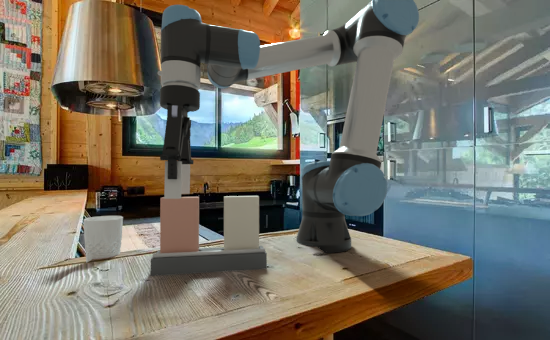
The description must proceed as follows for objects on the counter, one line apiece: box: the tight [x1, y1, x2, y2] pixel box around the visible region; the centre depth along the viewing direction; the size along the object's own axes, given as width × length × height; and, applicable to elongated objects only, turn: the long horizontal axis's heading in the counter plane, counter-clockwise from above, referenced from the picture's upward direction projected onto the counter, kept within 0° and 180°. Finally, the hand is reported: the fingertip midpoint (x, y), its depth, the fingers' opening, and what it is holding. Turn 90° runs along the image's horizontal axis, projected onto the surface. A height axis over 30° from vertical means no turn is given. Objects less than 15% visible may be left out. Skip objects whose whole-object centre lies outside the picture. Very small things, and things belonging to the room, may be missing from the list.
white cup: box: [83, 215, 124, 264], centre depth 68 cm, size 8×8×10 cm
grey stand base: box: [150, 245, 268, 277], centre depth 58 cm, size 22×6×5 cm, turn 100°
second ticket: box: [223, 195, 260, 250], centre depth 60 cm, size 7×2×14 cm, turn 100°
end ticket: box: [159, 196, 200, 253], centre depth 58 cm, size 7×2×14 cm, turn 100°
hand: (178, 196), depth 58 cm, fingers open, 13 cm apart
